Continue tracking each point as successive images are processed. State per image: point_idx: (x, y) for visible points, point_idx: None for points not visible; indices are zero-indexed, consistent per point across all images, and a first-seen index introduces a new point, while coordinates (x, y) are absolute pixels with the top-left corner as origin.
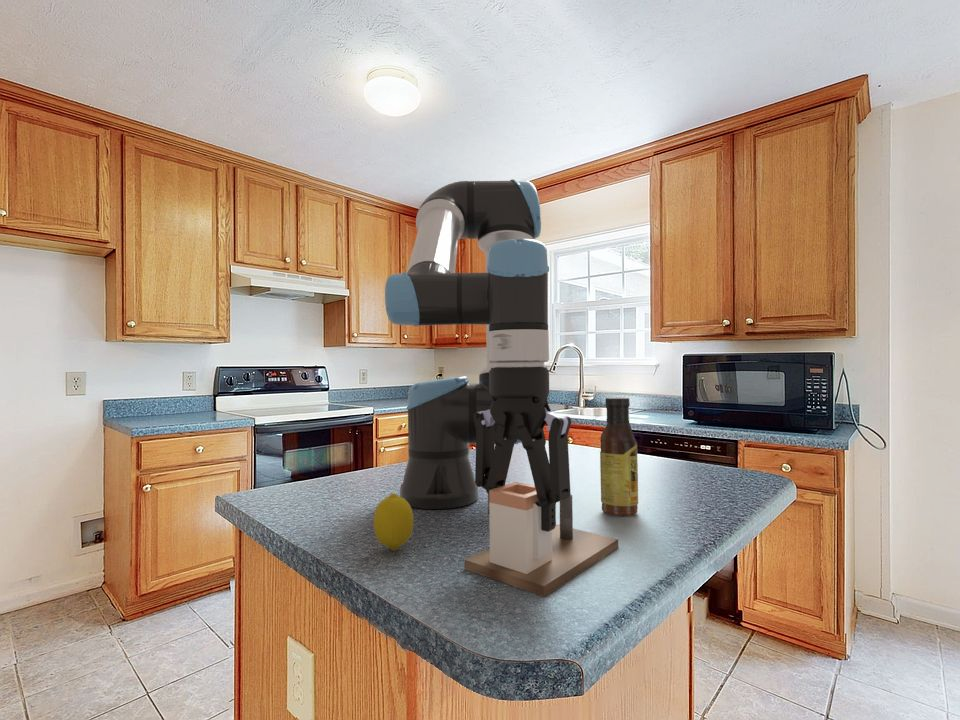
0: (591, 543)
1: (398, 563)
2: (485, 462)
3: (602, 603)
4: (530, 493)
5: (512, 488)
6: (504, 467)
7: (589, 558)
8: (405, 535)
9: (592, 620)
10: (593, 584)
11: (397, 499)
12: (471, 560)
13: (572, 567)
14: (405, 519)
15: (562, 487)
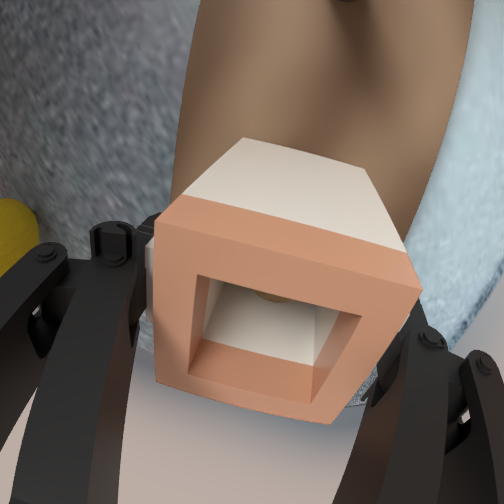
0: (430, 13)
1: (74, 257)
2: (25, 380)
3: (467, 272)
4: (332, 389)
5: (197, 304)
6: (115, 391)
7: (448, 117)
8: (34, 242)
9: (448, 322)
10: (456, 205)
11: None
12: None
13: (420, 196)
14: (14, 261)
15: (469, 432)
